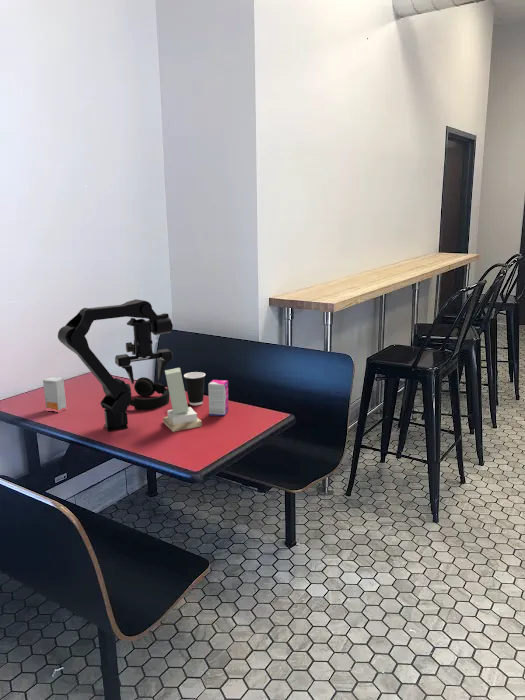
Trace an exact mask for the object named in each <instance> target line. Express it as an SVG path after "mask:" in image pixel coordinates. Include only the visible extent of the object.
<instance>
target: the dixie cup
mask: <svg viewBox="0 0 525 700" xmlns="http://www.w3.org/2000/svg"><path fill="white" fill-rule="evenodd" d="M205 376H206V373H205V372H202V371H200V372H199V371H193V372H192V371H191V372H187V373H184V374H183V378H184V382H185V386H186V387H185V388H186V392H187V393H186V394H187V399H188V402H189V405H191V406H200V405H202V404H203V403H204V402H203V401H204V396H205V395H204V394H205V392H204V391H205V379H206V378H205Z"/></svg>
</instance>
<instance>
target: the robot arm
mask: <svg viewBox="0 0 525 700" xmlns="http://www.w3.org/2000/svg"><path fill="white" fill-rule="evenodd" d="M124 317H126V318H129V320H128V321H127V322H126V325H127V326H130V327H133V342H131V341H130V342H125V351H126V353H124V354H117V355H115V357H114V361H115V362H114V363H115V364H116V366H118V367H121V368H122V369H123V370H125V372H126V374H127V375H128V379H129V380H130V382H131V385H135V379H134V372H133V367H132V365H131V363H133V362H140V361H141V362H142V361H149V360H156V361H157V379H158V381H161V379H162V376H163V373H164V372H165V370H166V369H165V368H166V367H167V364H168V363H170V362H171V360H174V353H173V352H172V351H171V350H170V349H168V348H163V349H157V352H153V344H154V343H153V338H152V334H153V335H154V336H158V335H159V336H160V335H163V334H164V335H165V334H170V333H171V332H172V331H173V328H174V325H173V323H172V319H171V318H170V317H169V313H165V312H163V313H160V314H157V313H156V312H155V310H154V309H153V305H152V303H151V302H150V301H148V300H143V299H137V298H136V299H133V300H132V299H131V300H129V301H126V302H124V303H121V304H116V305H107V306H97V307H83V308H82V309H80V310H79V311H78V313H77V314H76V315H74V317H72V318H71V319H70V320H69V321H68V322H67V323H66V324H65V325H63V326H62V327H61V328H59V330H58V332H57V339H58V340H59V342H60V344H63V345H64V347H66V348H67V349H69V350H70V351H72V352H73V353H74V354H75V355H77V357H78V358H79V360H81V362H83V364H84V365H85V366H86V367H87V369H88V370H89V371H90V372H91V374H92V375H93V376H94V378H96V380H97V381H98V382H99V383H100V384H101V387H102V390H103V393H104V394H105V395H104V397H103V398H102V400H101V401H100V406H101V408H102V409H103V410H104V411H103V412H104V422H105V423H104V427H105V428H106V430H107V431H108V432H112V431H117V430H118V431H119V430H122V429H128V428H129V426H128V424H129V421H128V419H129V418H128V412H127V410H128V404H129V401H130V399H132V390H131V389H132V388H131V387H130V388H131V389H130V388H128V387H127V385H126V384H127V383H126V382H125V380H122V379H119V378H117V377H113V376H112V374H111V373H110V372H109V370H108V369H107V368H106V367H105V365H104V364H103V363H102V362H101V360H100V359H99V358H98V357H97V356H96V355H95V353H94V352H93V351H92V350H91V348H90V346H89V345H90V344H89V342H88V339H87V337H86V335H88V332H89V331H90V329H91V326H92V324H93V323H94V321H99V320H100V321H101V320H109V319H118V318H124ZM146 319H148V320H146ZM127 353H131V356H129V354H127ZM129 390H131V392H130V391H129Z"/></svg>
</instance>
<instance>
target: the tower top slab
mask: <svg viewBox="0 0 525 700" xmlns="http://www.w3.org/2000/svg"><path fill="white" fill-rule="evenodd" d="M188 410H189V412H184V413H180V414H175V415H174V413H173V408H172V409H168V410H167V411H166V412H167V417H168V418H169V420H170V421H171V422H172V423H173V425H175V424H181V423H187V422H194V421H197V418H198V413H197V412H196V411H195V410H194V409H193V408H192V407H191V406H188Z"/></svg>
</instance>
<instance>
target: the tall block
mask: <svg viewBox="0 0 525 700" xmlns="http://www.w3.org/2000/svg"><path fill="white" fill-rule="evenodd" d="M164 373H165V379H166V384H167V388H168V389H169V394H170V396H169V400H170V403H171V408H172V409H173V413H174V415H175V414H180V413H184V412H189V410H188V407H189V406H188V402H187V395H186V389H185V385H184V380H183V375H182V371H181V368H180V367H175V368H171V369H164Z"/></svg>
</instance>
